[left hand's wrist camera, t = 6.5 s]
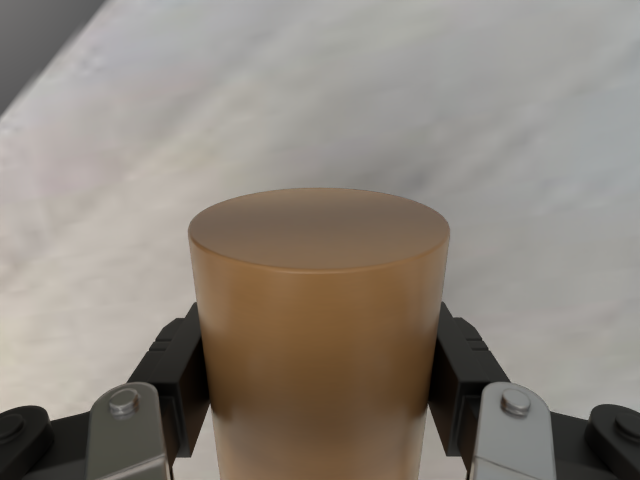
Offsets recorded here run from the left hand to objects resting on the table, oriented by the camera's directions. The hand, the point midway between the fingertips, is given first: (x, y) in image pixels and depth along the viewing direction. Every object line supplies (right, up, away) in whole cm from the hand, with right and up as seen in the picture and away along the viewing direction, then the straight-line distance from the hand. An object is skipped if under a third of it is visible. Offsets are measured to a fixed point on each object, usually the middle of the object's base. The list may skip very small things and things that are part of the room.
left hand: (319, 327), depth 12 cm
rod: (0, -7, +4) cm, 8 cm away
